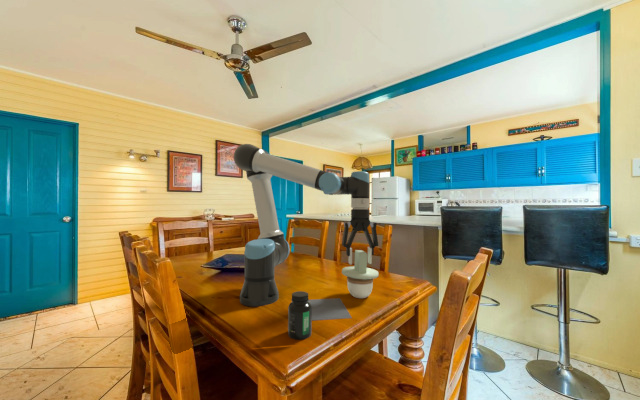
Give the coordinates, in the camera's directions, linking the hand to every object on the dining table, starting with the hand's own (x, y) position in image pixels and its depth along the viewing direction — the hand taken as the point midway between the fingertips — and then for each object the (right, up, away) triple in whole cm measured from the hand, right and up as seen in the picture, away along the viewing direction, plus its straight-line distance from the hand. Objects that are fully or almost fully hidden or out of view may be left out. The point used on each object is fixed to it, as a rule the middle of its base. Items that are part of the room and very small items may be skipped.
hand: (360, 263), depth 107 cm
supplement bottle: (-23, -13, -32) cm, 41 cm away
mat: (-16, -13, -14) cm, 25 cm away
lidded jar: (0, -14, 0) cm, 14 cm away
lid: (0, -4, 0) cm, 4 cm away
